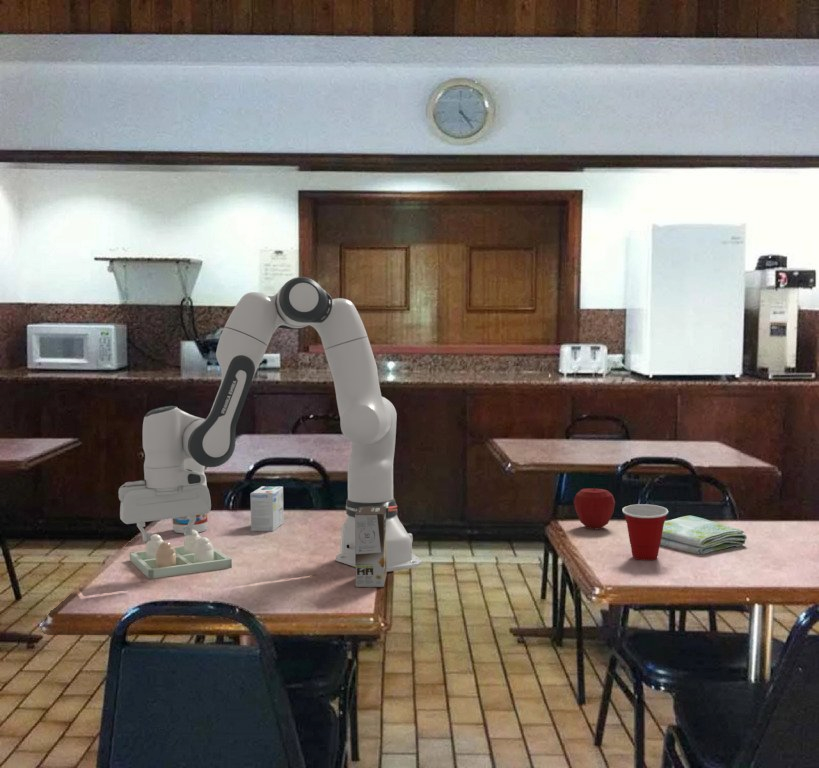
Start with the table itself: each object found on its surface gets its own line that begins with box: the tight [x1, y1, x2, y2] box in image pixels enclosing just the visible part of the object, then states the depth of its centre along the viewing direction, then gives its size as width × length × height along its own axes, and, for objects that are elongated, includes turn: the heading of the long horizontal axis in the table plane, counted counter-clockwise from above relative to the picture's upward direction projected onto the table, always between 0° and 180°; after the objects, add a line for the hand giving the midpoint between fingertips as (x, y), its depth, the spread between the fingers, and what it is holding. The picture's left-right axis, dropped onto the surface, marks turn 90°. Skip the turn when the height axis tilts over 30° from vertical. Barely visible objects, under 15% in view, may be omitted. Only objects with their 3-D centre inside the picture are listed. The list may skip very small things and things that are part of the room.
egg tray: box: [129, 545, 233, 580], centre depth 223 cm, size 19×19×2 cm
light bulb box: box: [249, 485, 284, 532], centre depth 264 cm, size 11×7×11 cm, turn 172°
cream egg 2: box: [183, 530, 202, 555], centre depth 228 cm, size 4×4×7 cm
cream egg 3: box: [194, 536, 214, 563], centre depth 221 cm, size 4×4×7 cm
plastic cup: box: [622, 503, 669, 561], centre depth 226 cm, size 11×11×12 cm
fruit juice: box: [172, 458, 208, 535], centre depth 260 cm, size 9×9×28 cm
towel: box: [660, 515, 747, 555], centre depth 242 cm, size 18×21×5 cm
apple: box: [573, 486, 616, 530], centre depth 260 cm, size 11×11×12 cm
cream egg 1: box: [145, 533, 165, 560], centre depth 224 cm, size 4×4×7 cm
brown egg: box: [156, 541, 176, 568], centre depth 216 cm, size 4×4×7 cm
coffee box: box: [355, 506, 387, 588], centre depth 207 cm, size 9×6×16 cm
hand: (167, 537), depth 216 cm, fingers open, 8 cm apart
